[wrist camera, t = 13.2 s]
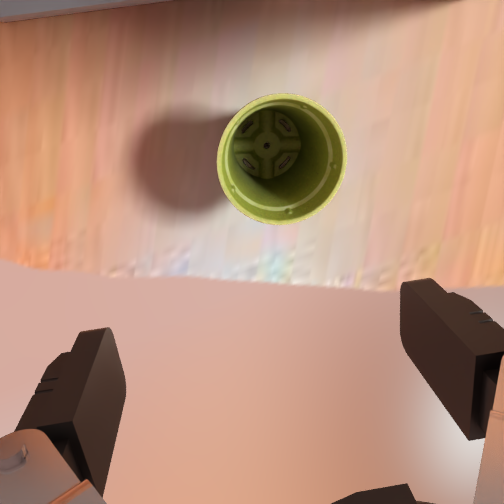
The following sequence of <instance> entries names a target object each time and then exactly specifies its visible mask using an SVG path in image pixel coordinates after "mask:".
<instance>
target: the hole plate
mask: <svg viewBox="0 0 504 504" xmlns="http://www.w3.org/2000/svg"><path fill="white" fill-rule="evenodd" d="M164 1H172V0H0V21H1V22H12V21H20V20H27V19H35V18H43V17H50V16H58V15H65V14H73V13H81V12H88V11H96V10H103V9H111V8H119V7H126V6H134V5H141V4H149V3H157V2H164Z"/></svg>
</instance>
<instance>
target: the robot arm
mask: <svg viewBox="0 0 504 504" xmlns="http://www.w3.org/2000/svg"><path fill="white" fill-rule="evenodd" d="M400 335H401V341H402V344H403V347H404V349H405V351H406V353H407V355H408V356H409V357H410V359H411V360H412V362H413V363H414V364H415V366H416V367H417V369H418V370H419V371H420V373H421V374H422V376H423V377H424V379H425V380H426V381H427V383H428V384H429V386H430V387H431V388H432V390H433V391H434V392H435V394H436V395H437V397H438V398H439V400H440V401H441V402H442V404H443V405H444V407H445V408H446V409H447V411H448V412H449V414H450V415H451V417H452V418H453V419H454V421H455V422H456V423H457V425H458V426H459V428H460V429H461V431H462V432H463V433H464V435H465V436H466V438H467V439H468V440H469V441H470V440H476V439H482V438H485V443H484V448H483V454H482V459H481V464H480V470H479V476H478V481H477V486H476V491H475V497H474V502H473V504H504V329H503V328H502V327H501V326H500V325H499V324H498V323H496V322H495V321H493V320H492V318H491V317H490V316H488V315H487V314H486V313H483V310H482V309H480V308H479V307H478V306H477V305H476V304H475V303H474V302H472V301H471V300H469V299H467V298H465V297H463V296H460V295H458V294H456V293H454V292H452V293H447V292H446V291H445V290H444V289H443V288H442V287H441V286H439V285H438V284H437V283H436V282H435V281H434V280H433V279H431V278H426V279H420V280H414V281H407V282H403V283H402V285H401V289H400ZM125 397H126V382H125V375H124V371H123V368H122V364H121V361H120V358H119V354H118V350H117V346H116V343H115V339H114V336H113V333H112V330H111V329H110V328H108V327H107V328H101V329H94V330H88V331H82V332H80V333H79V335H78V337H77V339H76V341H75V343H74V345H73V347H72V350H71V352H66V353H61V354H60V355H59V356H58V357H57V358H56V359H55V360H54V361H53V362H52V363H51V364H50V365H49V366H48V367H47V369H46V371H45V373H44V374H43V376H42V378H41V383H39V384H38V386H37V388H36V390H35V395H33V396H32V398H31V400H30V402H29V404H28V406H27V408H26V410H25V412H24V414H23V415H22V417H21V419H20V421H19V423H18V426H17V427H16V429H15V431H14V432H13V433H10V434H8V435H6V436H4V437H2V438H0V504H106V502H105V501H104V500H103V493H104V489H105V484H106V480H107V475H108V471H109V467H110V462H111V458H112V454H113V450H114V446H115V441H116V437H117V432H118V428H119V424H120V420H121V415H122V411H123V406H124V402H125ZM332 504H433V503H428V502H421V501H416V500H415V499H414V496H413V494H412V492H411V490H410V488H409V486H408V484H401V485H395V486H390V487H385V488H378V489H373V490H367V491H361V492H356V493H354V494H352V495H349V496H347V497H345V498H343V499H340V500H338V501H336V502H334V503H332Z"/></svg>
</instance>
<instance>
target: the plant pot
mask: <svg viewBox="0 0 504 504" xmlns="http://www.w3.org/2000/svg"><path fill="white" fill-rule="evenodd" d="M279 120H284V121H285V122H286V123H287V124H288V125H289V127H290V129H291V130H290V132H288V131H287V129H286V128H285V127H284V126H283V125H282V124H281V123H279ZM249 121H253V124H252V125H250V126H249V127H248V129H247V130H246V131H245V133H242V129H243V128H244V126H245V125H246V124H247V123H248V122H249ZM267 142H268V143H269V144H270V147H269V148H265V147H264V144H265V143H267ZM289 156H290V160H289V161H288V162H287V164H286V165H285V166H284V167H283V168H279V166H280V165H281V164H282V163H283V162H284V161H285V160H286V159H287V157H289ZM244 158H246V160H247V161H248V162H249V163H250V164H251V165H252V166H253V167H254V168H255V169H251V168H249V167H247V166H246V165H245V164H244V162H243V159H244ZM346 164H347V148H346V142H345V138H344V135H343V133H342V130H341V128H340V126H339V125H338V123H337V121H336V120H335V119H334V117H333V116H332V115H331V114H330V113H329V112H328V111H327V110H326V109H325V108H324V107H322V106H321V105H320V104H318V103H316V102H315V101H313V100H311V99H309V98H306V97H303V96H300V95H295V94H288V93H279V94H271V95H267V96H263V97H261V98H258V99H256V100H254V101H252V102H250V103H248V104H247V105H246V106H244V107H243V108H242V109H240V110H239V111H238V112H237V113H236V114H235V115H234V117H233V118H232V119H231V120H230V122H229V123H228V125H227V126H226V128H225V130H224V132H223V134H222V137H221V139H220V143H219V146H218V152H217V173H218V178H219V182H220V185H221V187H222V189H223V191H224V193H225V195H226V196H227V198H228V199H229V201H230V202H231V203H232V204H233V205H234V206H235V207H236V208H237V209H238V210H239V211H240V212H242V213H243V214H244V215H246V216H247V217H249V218H251V219H253V220H256V221H259V222H262V223H266V224H271V225H287V224H293V223H296V222H300V221H302V220H305V219H307V218H309V217H311V216H313V215H315V214H316V213H318V212H319V211H320V210H322V209H323V208H324V207H325V206H326V205H327V204H328V203H329V202H330V201H331V199H332V198H333V197H334V195H335V194H336V192H337V191H338V189H339V187H340V185H341V183H342V181H343V178H344V174H345V170H346Z"/></svg>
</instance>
